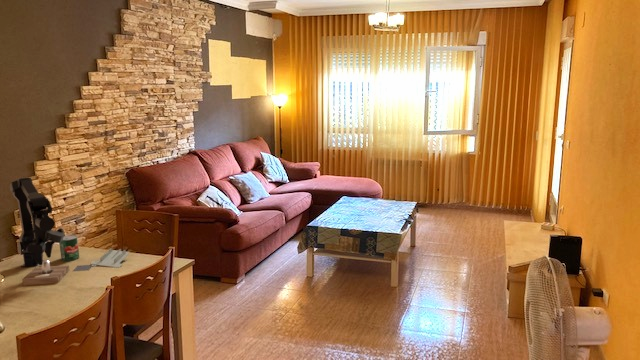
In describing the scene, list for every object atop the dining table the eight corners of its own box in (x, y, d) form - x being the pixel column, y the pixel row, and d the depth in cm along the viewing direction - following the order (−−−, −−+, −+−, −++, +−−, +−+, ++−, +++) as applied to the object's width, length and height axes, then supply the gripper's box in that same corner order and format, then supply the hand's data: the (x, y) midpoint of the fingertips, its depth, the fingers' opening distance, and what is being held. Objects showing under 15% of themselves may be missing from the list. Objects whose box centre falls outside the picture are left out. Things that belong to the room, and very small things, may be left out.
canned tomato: (68, 256, 248) (66, 234, 246) (83, 257, 246) (80, 235, 244) (57, 261, 240) (54, 239, 238) (72, 262, 239) (69, 240, 237)
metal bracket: (106, 245, 244) (134, 248, 241) (109, 255, 247) (136, 258, 243) (87, 262, 232) (116, 266, 228) (90, 272, 234) (119, 276, 231)
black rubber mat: (77, 266, 234) (77, 265, 234) (93, 265, 235) (93, 264, 235) (72, 272, 227) (72, 271, 227) (89, 271, 228) (88, 270, 228)
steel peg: (44, 277, 221) (42, 260, 220) (52, 277, 222) (50, 259, 220) (41, 280, 218) (39, 262, 217) (49, 279, 219) (47, 262, 217)
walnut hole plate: (36, 273, 226) (35, 266, 225) (69, 271, 228) (68, 264, 227) (23, 286, 212) (22, 278, 211) (58, 283, 214) (57, 276, 213)
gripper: (52, 231, 207) (57, 267, 210) (68, 219, 225) (72, 252, 228) (23, 232, 206) (28, 269, 209) (41, 220, 224) (45, 254, 227)
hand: (45, 261), depth 218 cm, fingers open, 9 cm apart
